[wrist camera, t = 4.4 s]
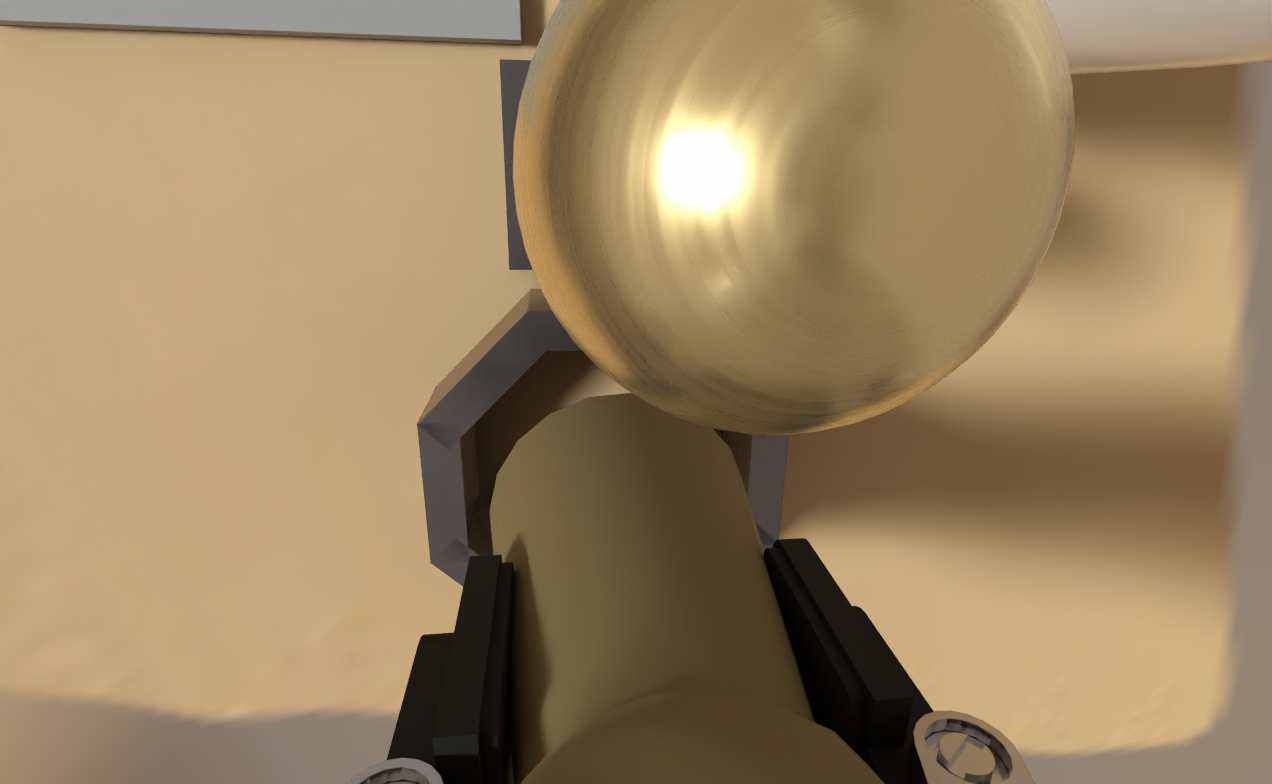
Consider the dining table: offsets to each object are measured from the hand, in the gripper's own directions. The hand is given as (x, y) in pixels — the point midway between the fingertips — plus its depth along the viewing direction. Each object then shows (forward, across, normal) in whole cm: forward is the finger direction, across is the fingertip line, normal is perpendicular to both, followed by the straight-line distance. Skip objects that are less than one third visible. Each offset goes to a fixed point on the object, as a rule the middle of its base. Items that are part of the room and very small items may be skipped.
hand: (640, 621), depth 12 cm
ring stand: (+9, 0, -2) cm, 9 cm away
